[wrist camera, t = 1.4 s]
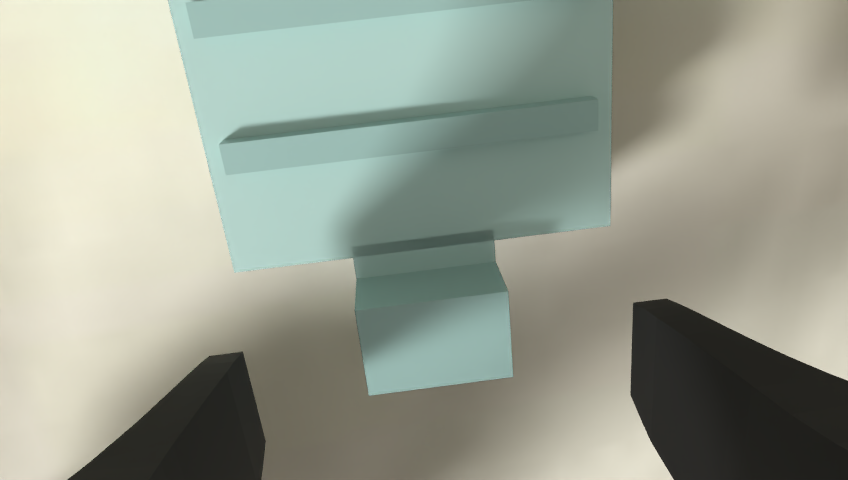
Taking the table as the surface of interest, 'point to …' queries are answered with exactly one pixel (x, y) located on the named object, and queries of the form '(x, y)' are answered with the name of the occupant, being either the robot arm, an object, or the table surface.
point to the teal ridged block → (404, 154)
